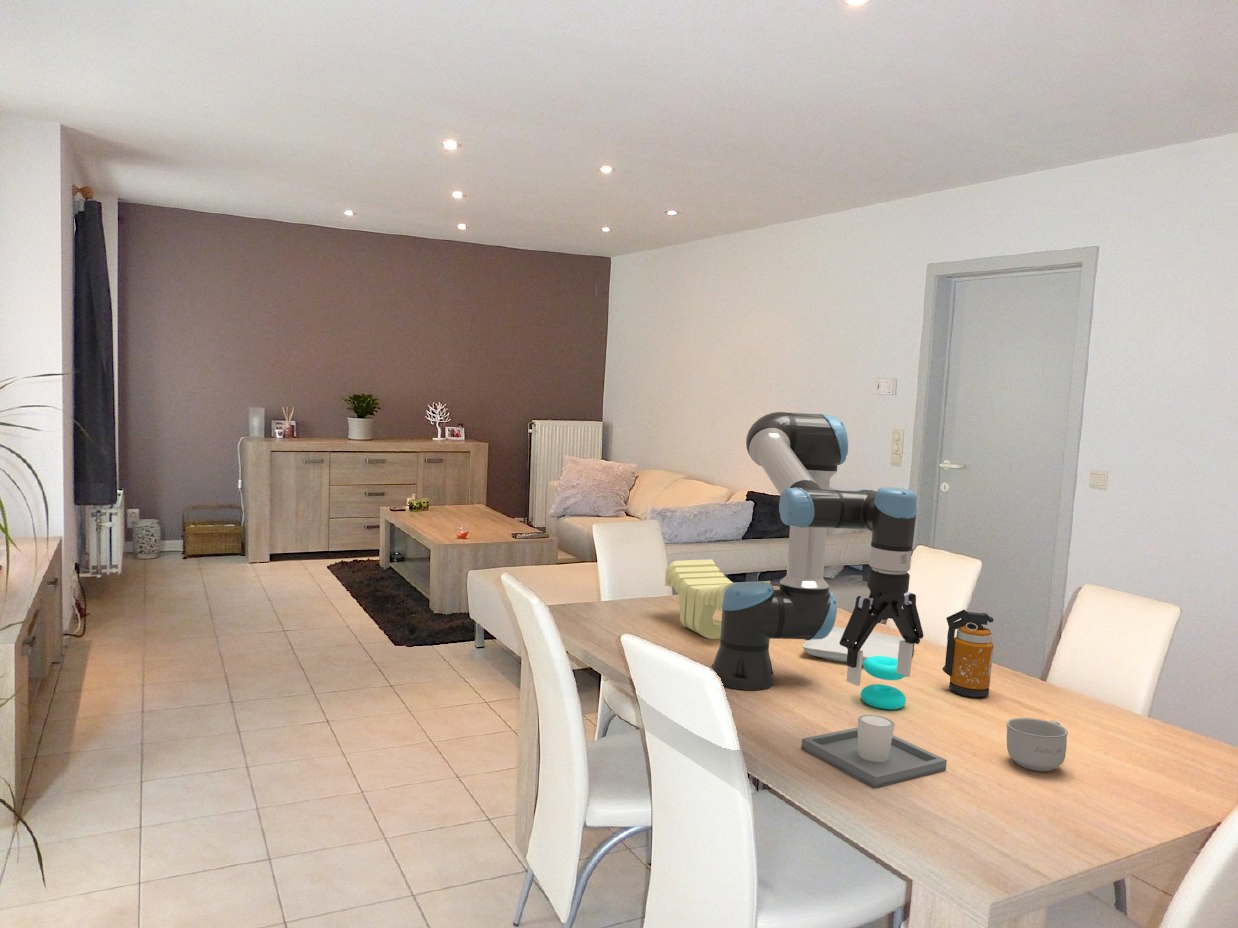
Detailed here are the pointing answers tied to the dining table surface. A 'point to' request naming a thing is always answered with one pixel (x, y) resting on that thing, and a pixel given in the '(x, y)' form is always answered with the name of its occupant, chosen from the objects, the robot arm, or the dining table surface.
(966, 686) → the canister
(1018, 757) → the teacup
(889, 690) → the donuts
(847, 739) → the tray
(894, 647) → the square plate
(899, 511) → the robot arm
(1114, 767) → the dining table surface
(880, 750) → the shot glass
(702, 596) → the slatted curved stool
